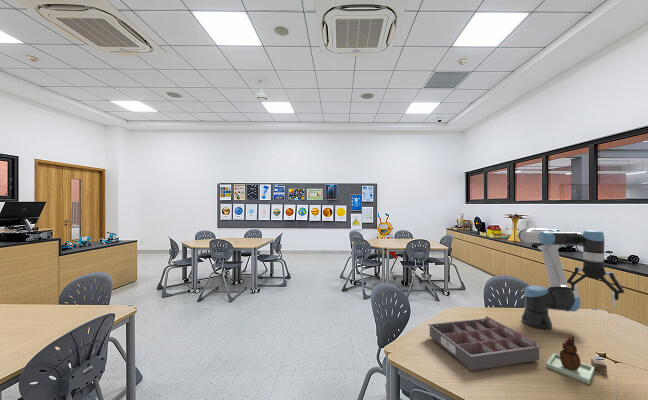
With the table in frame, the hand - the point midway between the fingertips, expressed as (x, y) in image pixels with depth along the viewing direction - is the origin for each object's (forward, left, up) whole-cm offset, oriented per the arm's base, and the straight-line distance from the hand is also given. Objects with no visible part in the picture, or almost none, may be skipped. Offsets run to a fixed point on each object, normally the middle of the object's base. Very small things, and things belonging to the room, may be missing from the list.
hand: (594, 301), depth 131 cm
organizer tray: (-37, -45, -27) cm, 64 cm away
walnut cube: (+3, -19, -27) cm, 33 cm away
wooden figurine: (-5, -29, -26) cm, 39 cm away
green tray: (-5, -29, -26) cm, 39 cm away
